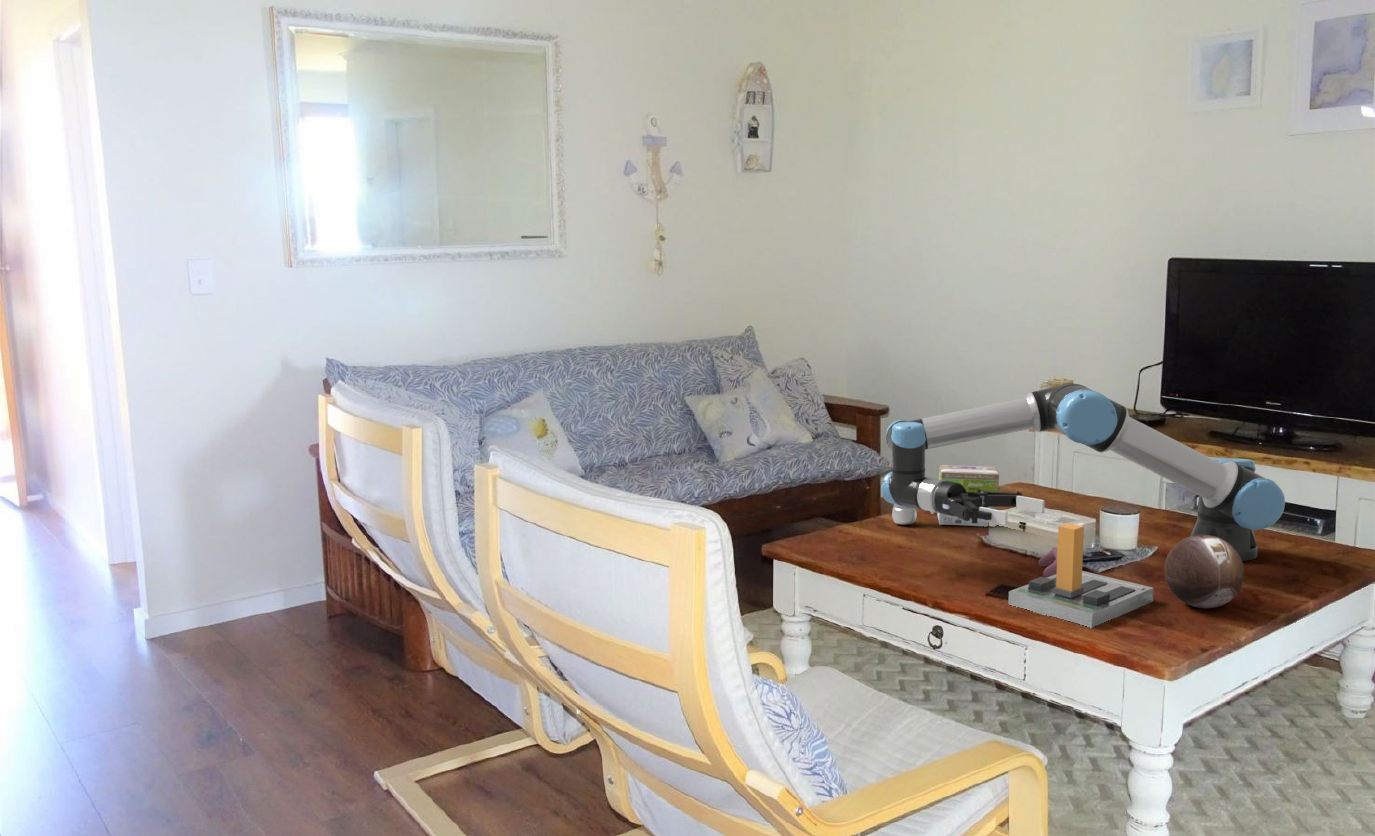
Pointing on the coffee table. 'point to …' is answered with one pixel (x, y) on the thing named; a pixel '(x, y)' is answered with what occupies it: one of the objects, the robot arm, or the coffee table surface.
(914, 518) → the plastic bottle
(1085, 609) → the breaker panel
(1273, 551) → the coffee table surface
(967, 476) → the tea box
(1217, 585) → the wooden sphere
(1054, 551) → the video game controller
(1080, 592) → the handle
